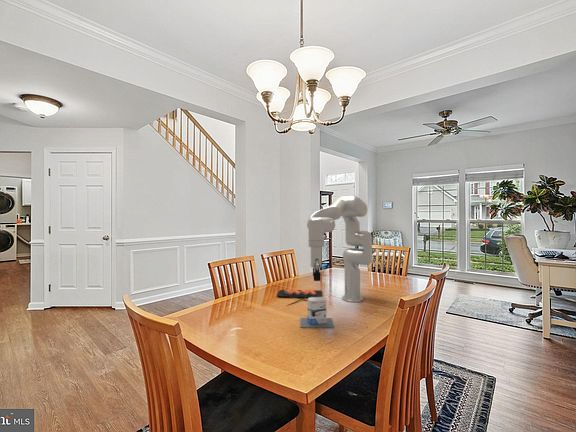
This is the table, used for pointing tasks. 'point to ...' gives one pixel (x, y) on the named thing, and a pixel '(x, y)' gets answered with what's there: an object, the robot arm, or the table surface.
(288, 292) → the sushi plate
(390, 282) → the table surface
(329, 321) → the mat
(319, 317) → the ink box
